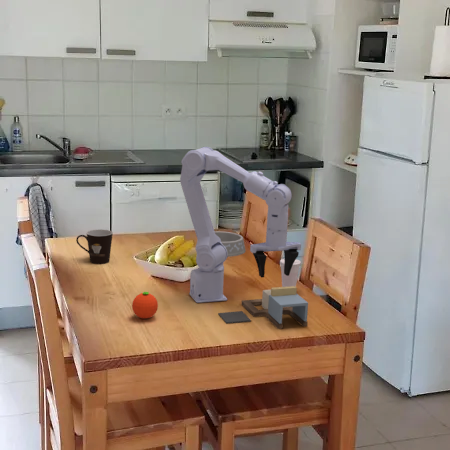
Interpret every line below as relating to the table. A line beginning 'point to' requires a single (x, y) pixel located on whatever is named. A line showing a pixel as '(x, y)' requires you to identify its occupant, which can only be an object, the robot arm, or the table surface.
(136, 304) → the clementine
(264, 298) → the block
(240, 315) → the mat
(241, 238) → the dog bowl
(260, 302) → the puzzle board
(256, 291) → the table surface
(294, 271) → the smoothie
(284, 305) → the cover
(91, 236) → the coffee mug
